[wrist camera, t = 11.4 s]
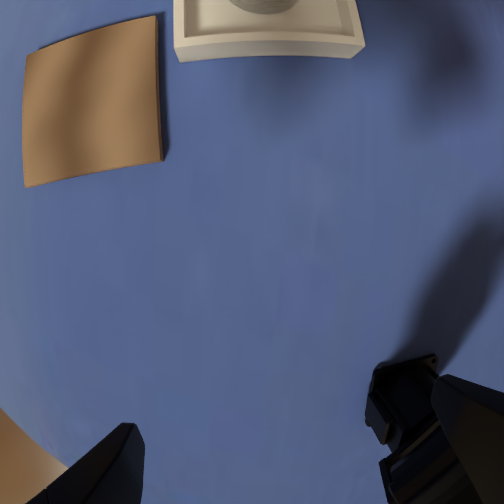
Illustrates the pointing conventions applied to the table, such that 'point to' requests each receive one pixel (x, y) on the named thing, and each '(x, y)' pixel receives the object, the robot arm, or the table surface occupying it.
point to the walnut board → (92, 103)
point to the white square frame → (266, 30)
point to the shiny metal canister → (264, 5)
